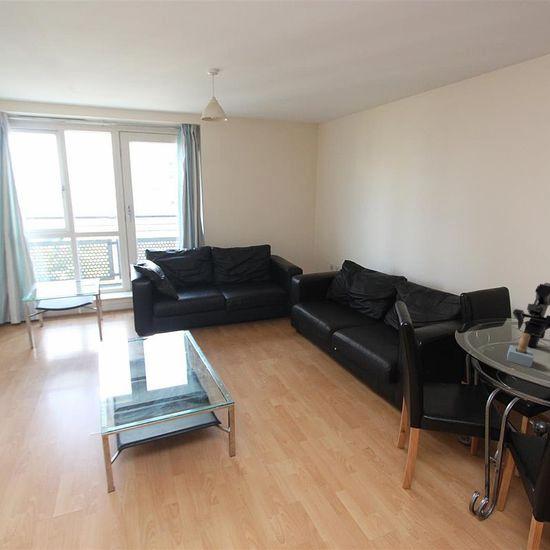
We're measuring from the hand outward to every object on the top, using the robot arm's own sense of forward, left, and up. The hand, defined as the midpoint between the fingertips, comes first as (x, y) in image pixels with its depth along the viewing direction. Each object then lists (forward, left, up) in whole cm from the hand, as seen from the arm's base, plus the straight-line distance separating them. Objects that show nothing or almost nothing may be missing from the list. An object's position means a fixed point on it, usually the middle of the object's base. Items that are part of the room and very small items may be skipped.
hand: (528, 331), depth 188 cm
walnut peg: (+7, +5, -12) cm, 15 cm away
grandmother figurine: (-29, -26, -13) cm, 41 cm away
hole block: (+7, +5, -13) cm, 16 cm away
